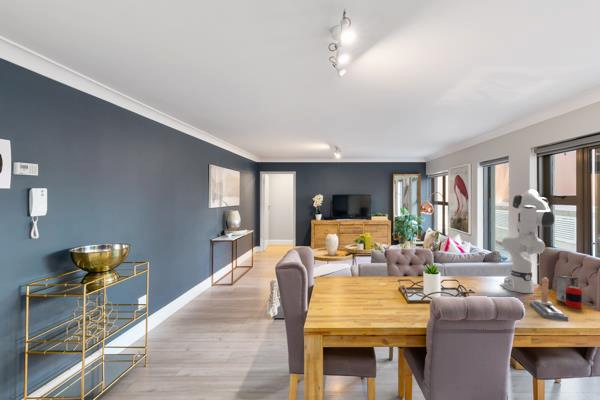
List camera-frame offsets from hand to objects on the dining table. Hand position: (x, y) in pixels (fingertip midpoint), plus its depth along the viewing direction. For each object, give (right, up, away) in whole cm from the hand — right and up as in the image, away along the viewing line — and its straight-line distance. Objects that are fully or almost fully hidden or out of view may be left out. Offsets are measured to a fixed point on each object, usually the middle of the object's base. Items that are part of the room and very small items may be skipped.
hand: (527, 253), depth 197 cm
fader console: (+4, -33, -11) cm, 35 cm away
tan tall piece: (+5, -31, -7) cm, 32 cm away
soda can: (+29, -34, 0) cm, 44 cm away
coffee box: (+33, -34, +10) cm, 48 cm away
